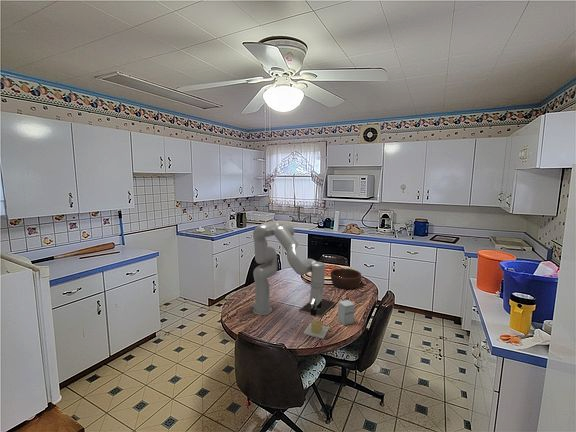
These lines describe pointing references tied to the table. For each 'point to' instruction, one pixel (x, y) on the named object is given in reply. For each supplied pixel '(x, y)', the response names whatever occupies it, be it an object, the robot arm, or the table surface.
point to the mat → (321, 335)
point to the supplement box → (345, 312)
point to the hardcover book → (319, 312)
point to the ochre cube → (316, 326)
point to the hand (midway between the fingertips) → (316, 311)
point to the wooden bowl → (345, 278)
